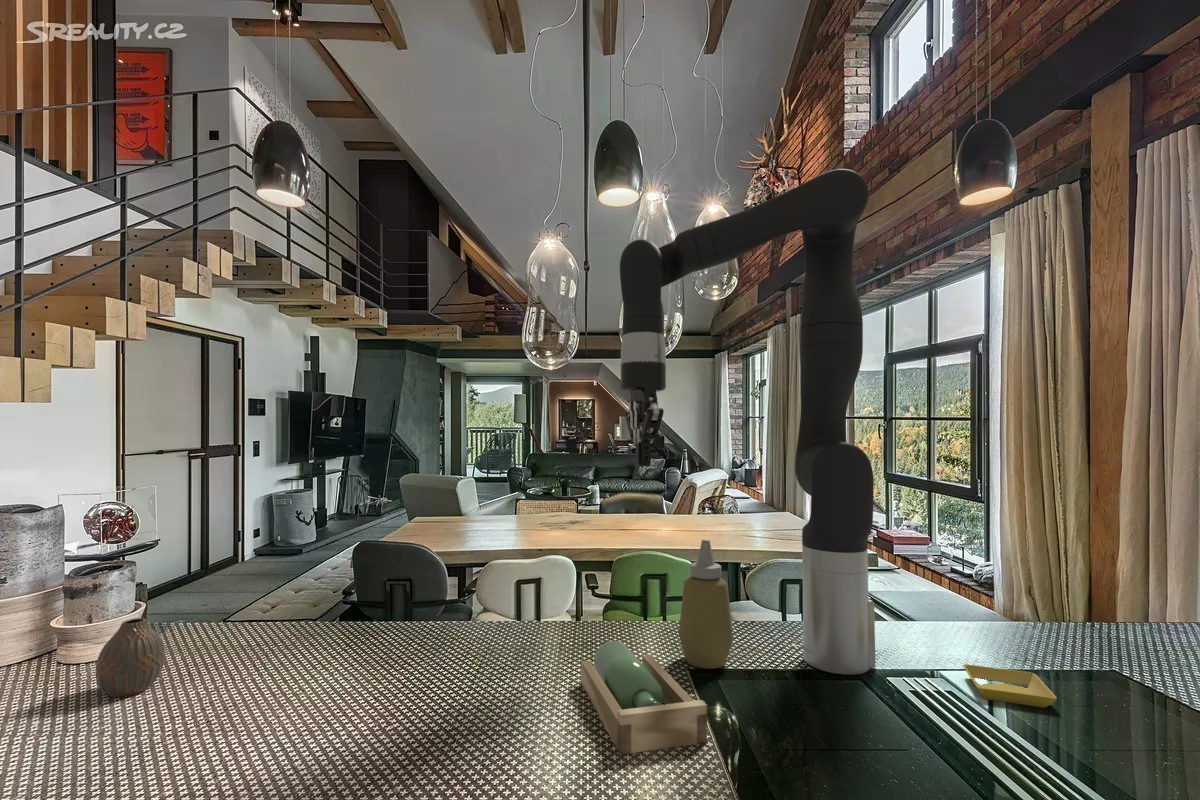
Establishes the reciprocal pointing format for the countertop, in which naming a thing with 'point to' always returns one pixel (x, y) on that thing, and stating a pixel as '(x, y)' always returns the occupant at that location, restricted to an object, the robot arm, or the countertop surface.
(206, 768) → the countertop surface
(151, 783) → the countertop surface
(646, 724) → the u rest
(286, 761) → the countertop surface
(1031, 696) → the yellow shallow square tray
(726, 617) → the squeeze bottle
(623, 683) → the bottle
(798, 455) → the robot arm
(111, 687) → the vase
